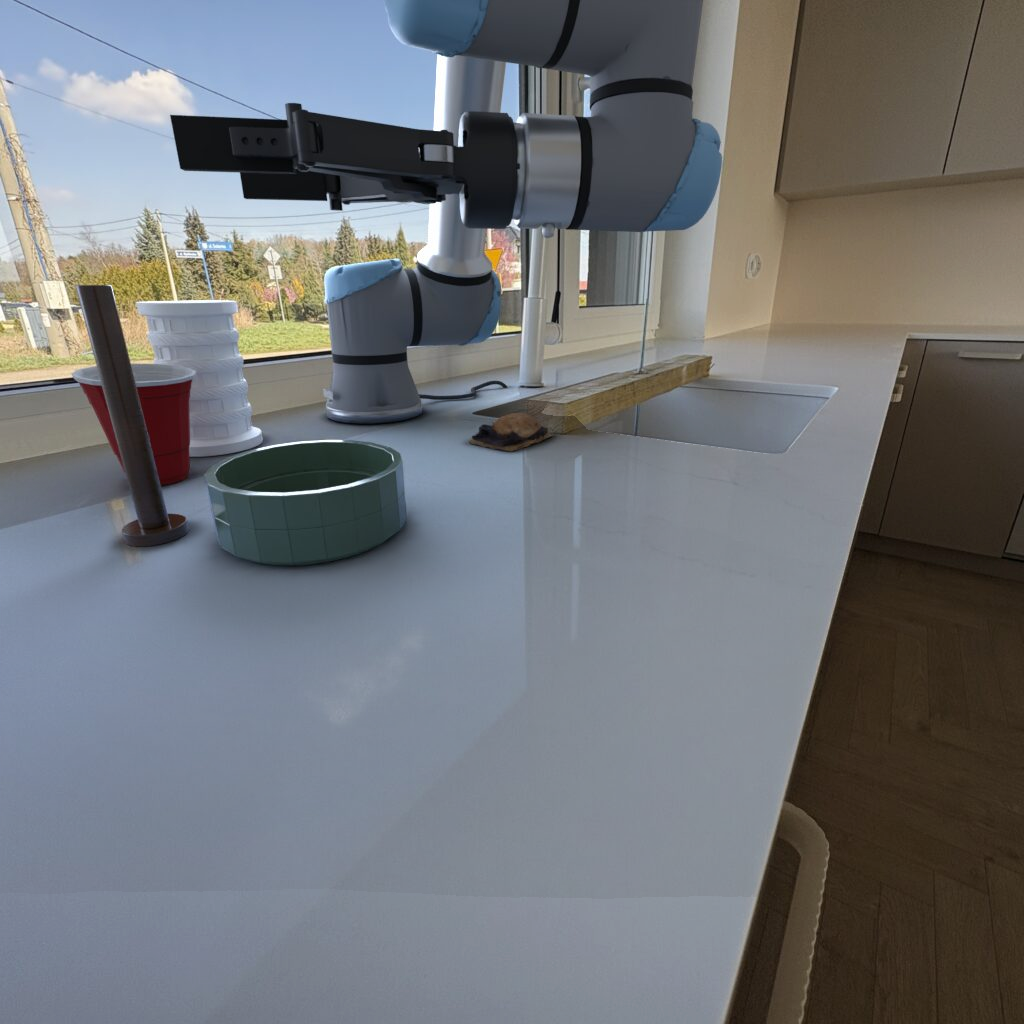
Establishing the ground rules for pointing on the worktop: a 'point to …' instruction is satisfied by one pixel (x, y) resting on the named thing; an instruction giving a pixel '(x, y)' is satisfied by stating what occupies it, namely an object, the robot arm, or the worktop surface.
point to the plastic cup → (152, 413)
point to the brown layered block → (511, 432)
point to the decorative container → (206, 370)
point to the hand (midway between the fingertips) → (214, 164)
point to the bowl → (307, 501)
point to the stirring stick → (127, 420)
